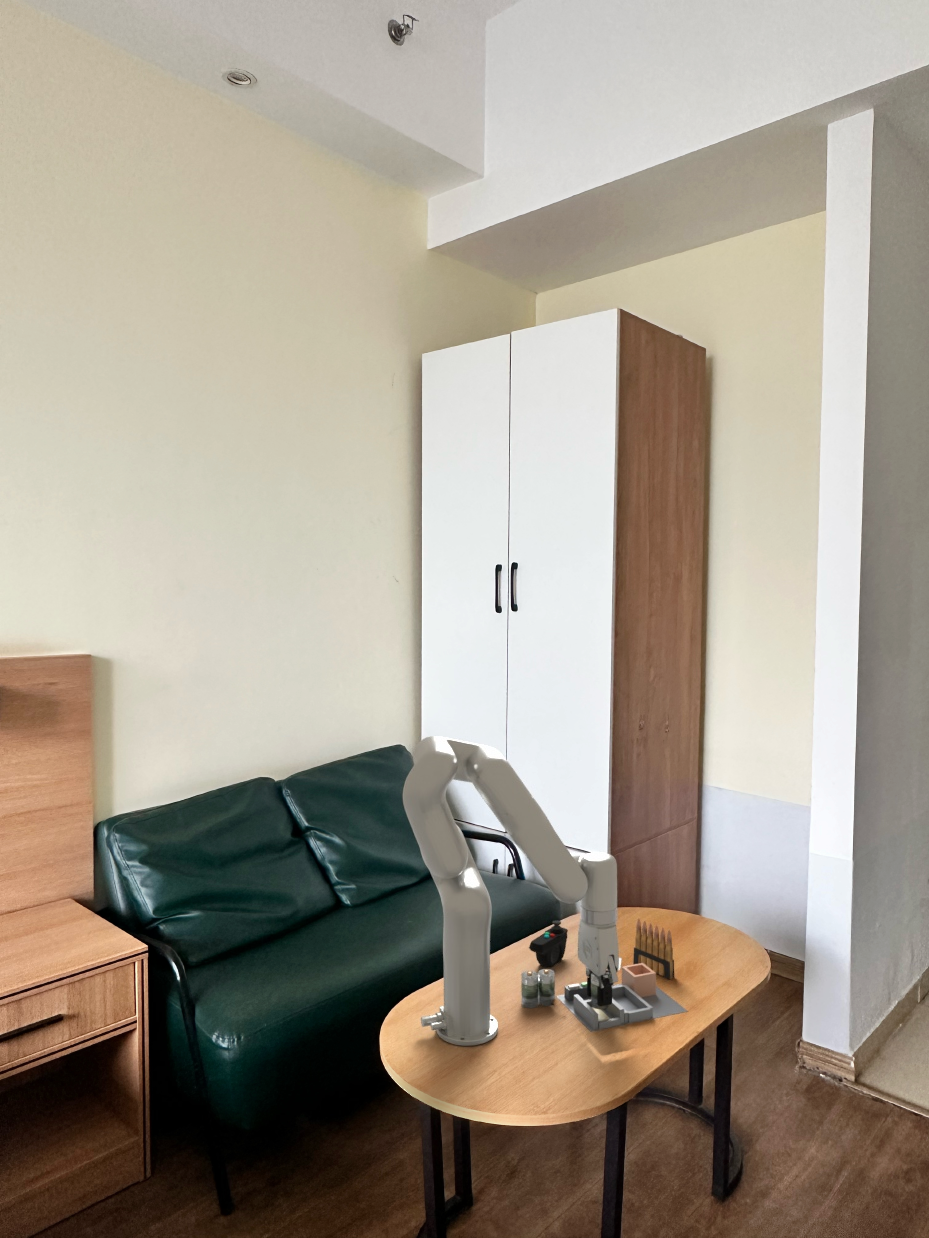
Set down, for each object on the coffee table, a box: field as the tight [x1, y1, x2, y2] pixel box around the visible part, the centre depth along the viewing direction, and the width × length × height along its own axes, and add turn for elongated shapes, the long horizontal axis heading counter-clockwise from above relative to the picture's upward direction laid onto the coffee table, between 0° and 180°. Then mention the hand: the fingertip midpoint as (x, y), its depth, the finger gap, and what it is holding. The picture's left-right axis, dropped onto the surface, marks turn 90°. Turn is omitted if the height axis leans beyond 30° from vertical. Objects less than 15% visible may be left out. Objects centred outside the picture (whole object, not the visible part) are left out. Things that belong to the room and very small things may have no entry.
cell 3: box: [591, 972, 609, 1009], centre depth 185 cm, size 4×4×7 cm
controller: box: [528, 920, 569, 969], centre depth 210 cm, size 4×12×10 cm, turn 142°
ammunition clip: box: [632, 918, 675, 981], centre depth 205 cm, size 11×2×12 cm, turn 39°
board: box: [555, 981, 689, 1032], centre depth 190 cm, size 23×16×4 cm
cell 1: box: [520, 970, 539, 1009], centre depth 192 cm, size 4×4×7 cm
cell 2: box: [537, 968, 556, 1007], centre depth 193 cm, size 4×4×7 cm
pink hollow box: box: [621, 963, 657, 997], centre depth 196 cm, size 5×5×5 cm
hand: (599, 998), depth 185 cm, fingers closed on cell 3, 3 cm apart
